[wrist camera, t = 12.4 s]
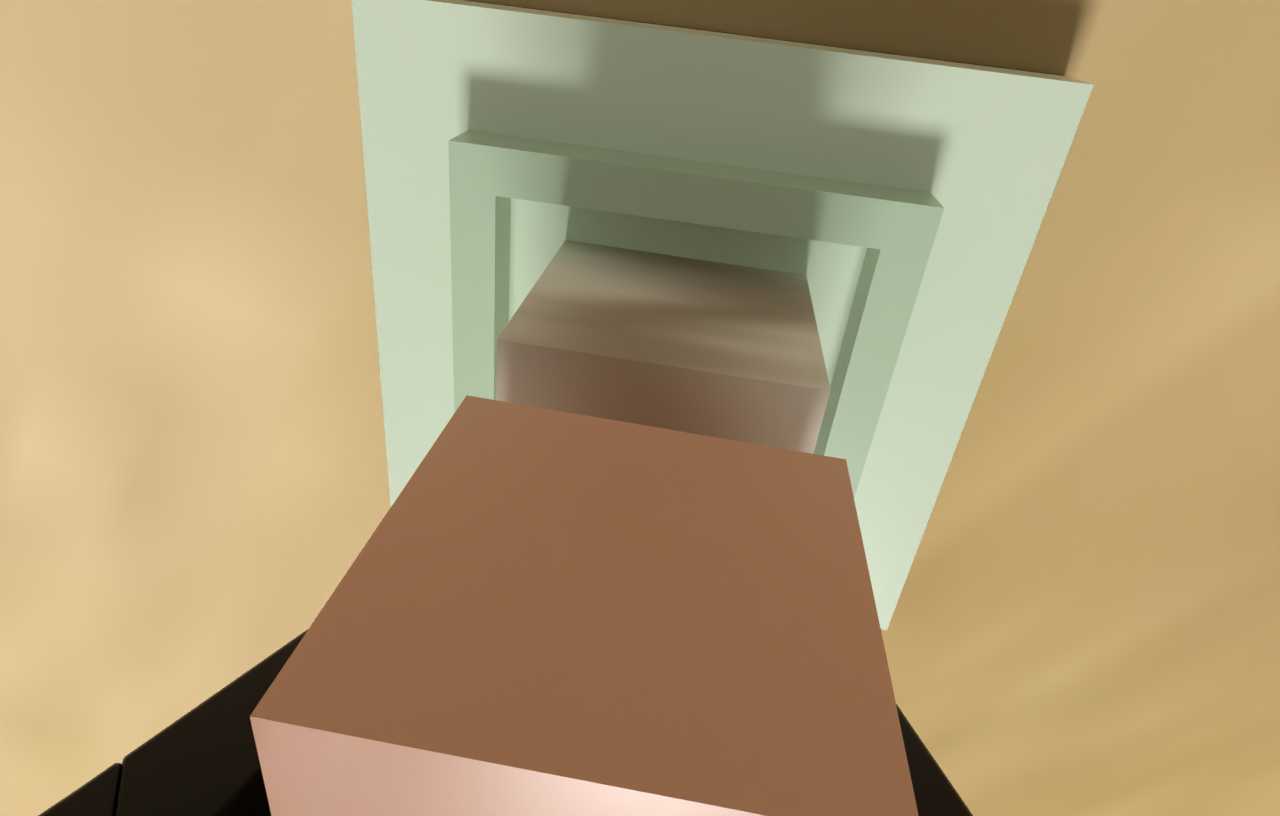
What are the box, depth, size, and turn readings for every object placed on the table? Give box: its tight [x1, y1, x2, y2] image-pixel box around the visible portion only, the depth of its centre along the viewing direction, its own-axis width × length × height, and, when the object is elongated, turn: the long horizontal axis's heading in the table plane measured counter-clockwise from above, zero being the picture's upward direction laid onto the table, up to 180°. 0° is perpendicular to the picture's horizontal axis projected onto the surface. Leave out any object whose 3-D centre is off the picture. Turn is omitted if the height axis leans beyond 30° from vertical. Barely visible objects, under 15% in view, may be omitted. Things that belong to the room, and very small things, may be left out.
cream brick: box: [496, 240, 831, 454], centre depth 13 cm, size 4×4×4 cm
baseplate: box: [351, 0, 1094, 630], centre depth 15 cm, size 12×12×2 cm
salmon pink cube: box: [250, 395, 919, 816], centre depth 8 cm, size 4×4×4 cm
